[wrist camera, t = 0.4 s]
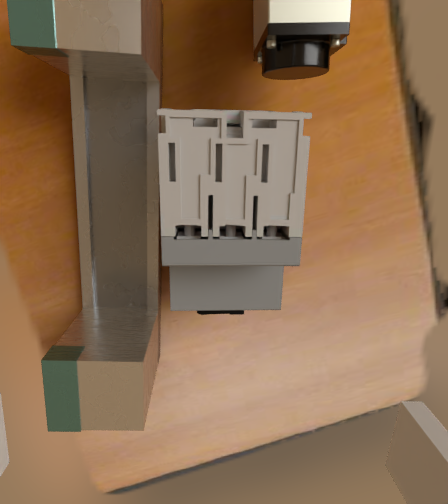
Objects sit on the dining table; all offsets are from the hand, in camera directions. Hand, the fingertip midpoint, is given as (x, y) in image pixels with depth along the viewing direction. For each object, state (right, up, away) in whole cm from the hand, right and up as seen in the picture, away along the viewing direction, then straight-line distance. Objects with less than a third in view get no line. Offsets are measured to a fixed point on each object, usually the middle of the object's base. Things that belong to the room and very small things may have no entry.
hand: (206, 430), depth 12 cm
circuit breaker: (0, +10, +22) cm, 24 cm away
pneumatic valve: (+5, +26, +18) cm, 31 cm away
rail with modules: (-9, +11, +21) cm, 25 cm away
